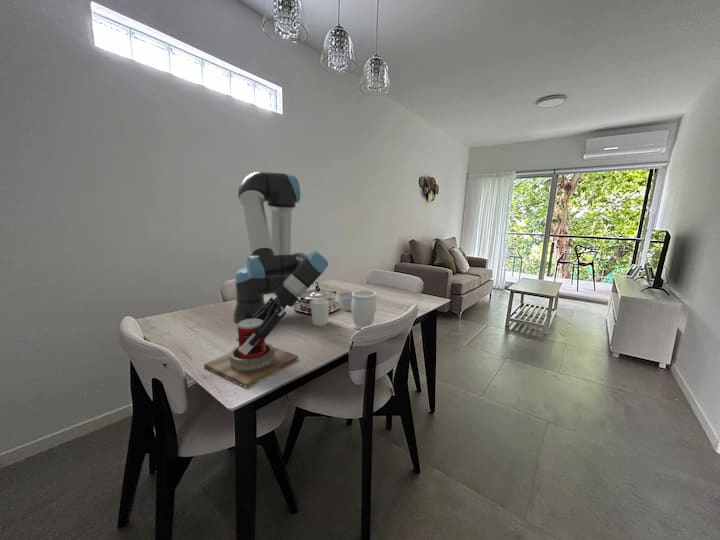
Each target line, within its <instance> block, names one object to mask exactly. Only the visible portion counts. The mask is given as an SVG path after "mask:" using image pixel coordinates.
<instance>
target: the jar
mask: <svg viewBox="0 0 720 540" xmlns="http://www.w3.org/2000/svg"><path fill="white" fill-rule="evenodd" d="M351 292H352V297H353V298H352V303H351V311H350V312H351V317H352V320H353V328H354V329H355V330H359V329H361V328H363V327H366V326H369V325H373V321H374V319H375V314H376V306H377V303H376V297H377V293H376V292H375V291H370V290H355V291H351ZM359 331H360V330H359Z"/></svg>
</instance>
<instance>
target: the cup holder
mask: <svg viewBox="0 0 720 540" xmlns="http://www.w3.org/2000/svg"><path fill="white" fill-rule="evenodd" d="M238 349H239V345H237V346H236V347H234V348H233V349H231V350H230V352H229V353H226V354H224V355H222V356H220V357H217V358H214V359H212V360H209V361H207V362H205V363H204V364H203V368H205V367H206V368H205V369H207V368H208V369H207V370H209V369H210V371H211V370H212V371H211V372H213V371H214V372H213V373H215V372H216V373H215V374H217V373H218V374H217V375H219V374H220V375H219V376H221V375H222V376H221V377H223V376H224V377H223V378H225V377H227V378H229V379H231V380H233V381H235V382H237V383H239V384H241V385H243V386H246V387H247V386H249V385H251V384H253V383H254V382H256V381H258V380H260V379H262V378H263V379H265V378H266V376H267V377H268V375H269V376H270V375H272V374H274V373H275V371H276V372H277V371H279V370H281V369H282V367H283V368H284V367H286V366H288V365H289V363H290V364H292V363H293V362H295V361H297V360H299V356H298V355H297V354H294V353H292V352H289V351H286V350H283V349H280V348H277V347H275V346H273V344H271V343H268V342H265V354H264V356H261V357H258V358H253V359H241V357H240V353H239V350H238ZM296 359H297V360H296ZM294 360H295V361H294ZM292 361H293V362H292ZM291 362H292V363H291ZM280 368H281V369H280ZM278 369H279V370H278ZM273 372H274V373H273ZM264 377H265V378H264ZM227 378H226V379H227ZM229 379H228V380H229ZM263 379H262V380H263ZM231 380H230V381H231ZM233 381H232V382H233ZM260 381H261V380H260ZM235 382H234V383H235ZM258 382H259V381H258ZM237 383H236V384H237ZM256 383H257V382H256ZM239 384H238V385H239ZM254 384H255V383H254ZM254 384H253V385H254ZM241 385H240V386H241ZM243 386H242V387H243ZM251 386H252V385H251ZM249 387H250V386H249ZM247 388H248V387H247Z"/></svg>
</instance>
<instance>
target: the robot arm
mask: <svg viewBox="0 0 720 540" xmlns="http://www.w3.org/2000/svg"><path fill="white" fill-rule="evenodd" d="M237 192H238V194H237V197H238V202H239V204H240V205H241V206H242V209H243V215H244V220H245V225H246V232H247V238H248V243H249V249H250V253H251V254H250V256H248V257H247V258H246V267H243V268H240V269H238V270H237V271H236V272H235V274H234V275H235V278H234V279H235V280H234V283H235V297H236V305H235V307H234V312H233V314H232V319H233V322H234V323H237V324H238V323H239V322H240V321H242V320H246V319H261V320H263V323H262V324H261V325H260V327H259V328H258V330H257V331H254V332H253V334H252V335H251V336H250V337H249V338H248V340H247V341H246V342H245V343H244V344H243V345H242V346H241V347H240V348H239V349H238V350H239V351H240V352H242V353H243V354H245V355H247V354H248V352H249V351H250V350H251V349H252V348H253V347H254V346H255V345H256V343H257V342H258V341H259V340H260V339H261V338H264V339H265V340H266V338H267V337H268V336H269V335H270V334H271V332H273V329H274V328H275V327H276V326H277V324H278V323H279V322H280V321H281V320H282V318H283V317H284V316H285V315H286V314H287V312H286V311H285V309H286V307H290V308H292V307H293V306H295V304H296V303H297V302H298V301H299V298H301V297H302V296H303V295H304V294H306V293H307V291H308V289H309V288H310V287H311V286H312V285H313V284H314V283H315V282H316V280H317V279H318V278H319V277H320V276H322V274H323V273H324V272H325V270H326V269H327V268H328V267H329V262H328V261H327V259H326V258H325V257H324V256H323V255H322V254H321V253H319V252H318V251H317V250H311V251H310V252H309V253H308V254H305V253H303V252H293V253H292V251H291V248H292V247H291V246H292V243H291V241H292V240H291V239H292V217H293V216H292V213H293V212H292V211H293V210H294V209H295V208H296V204H298V203H300V202H301V196H302V195H301V187H300V183H299V180H298V178H297V176H295V175H293V174H289V173H281V172H269V171H267V172H265V171H254V172H252V173H250V174H248V175H247V176H246V177H245V178H244V179H243V180H242V182H241V183H240V184H239V188H238V191H237ZM265 202H267V207H269V209H270V211H271V216H270V217H271V218H270V219H271V220H270V221H271V225H270V226H271V228H270V229H269V224H268V219H267V215H266V214H267V213H266V211H265V210H266V209H265V206H264V204H265ZM270 233H271V234H270ZM291 253H292V254H291ZM266 295H276V297H275V298H273V297H269V299H268V300H267V302H266V301H265V298H264V297H265V296H266ZM235 340H236V341H237V342H239V338H238V335H237V337H235Z"/></svg>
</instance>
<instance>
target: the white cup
mask: <svg viewBox="0 0 720 540" xmlns="http://www.w3.org/2000/svg"><path fill="white" fill-rule="evenodd" d="M310 306H311V307H310V309H311V318H312V319H311V320H312V325H314V326H320V327H321V326H322V327H323V326H326V325H327V324H328V323H329V315H330V312H329V310H330V300H328V299H325V298H317V299H313V300H311V301H310Z"/></svg>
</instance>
